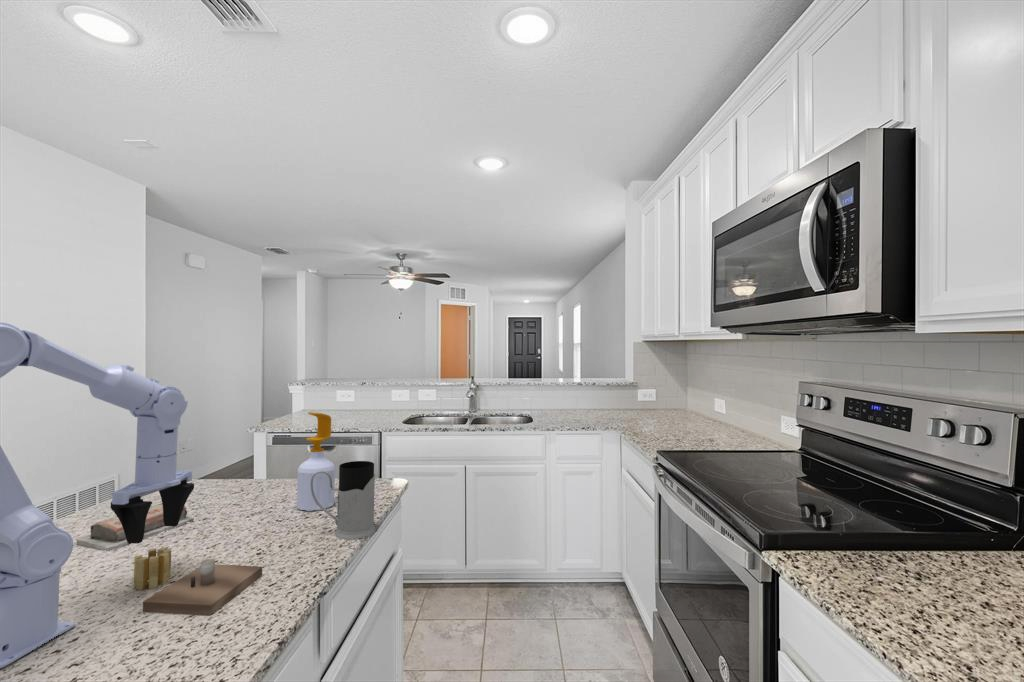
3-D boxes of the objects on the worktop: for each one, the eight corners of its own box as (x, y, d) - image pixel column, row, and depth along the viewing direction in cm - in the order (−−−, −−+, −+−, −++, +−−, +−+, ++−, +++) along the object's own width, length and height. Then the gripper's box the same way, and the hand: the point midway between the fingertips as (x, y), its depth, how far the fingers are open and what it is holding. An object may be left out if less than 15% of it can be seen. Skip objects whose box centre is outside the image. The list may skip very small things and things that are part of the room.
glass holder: (372, 538, 101) (374, 468, 102) (303, 541, 99) (305, 470, 100) (378, 523, 110) (379, 459, 110) (314, 526, 108) (316, 461, 108)
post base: (210, 615, 71) (211, 581, 71) (142, 611, 72) (143, 578, 72) (262, 575, 84) (262, 546, 84) (204, 572, 85) (204, 544, 85)
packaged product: (164, 498, 113) (194, 502, 110) (163, 518, 113) (194, 523, 110) (75, 523, 96) (109, 529, 93) (74, 547, 96) (108, 554, 93)
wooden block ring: (153, 590, 78) (154, 560, 78) (127, 589, 78) (128, 559, 78) (177, 576, 83) (178, 548, 83) (152, 575, 83) (153, 547, 83)
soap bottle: (288, 509, 119) (291, 413, 120) (313, 499, 128) (315, 409, 128) (317, 513, 116) (320, 414, 117) (341, 502, 125) (343, 410, 126)
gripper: (143, 465, 74) (139, 552, 73) (208, 447, 88) (205, 519, 88) (101, 464, 74) (97, 550, 74) (172, 446, 89) (170, 518, 88)
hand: (153, 533), depth 81 cm, fingers open, 7 cm apart
